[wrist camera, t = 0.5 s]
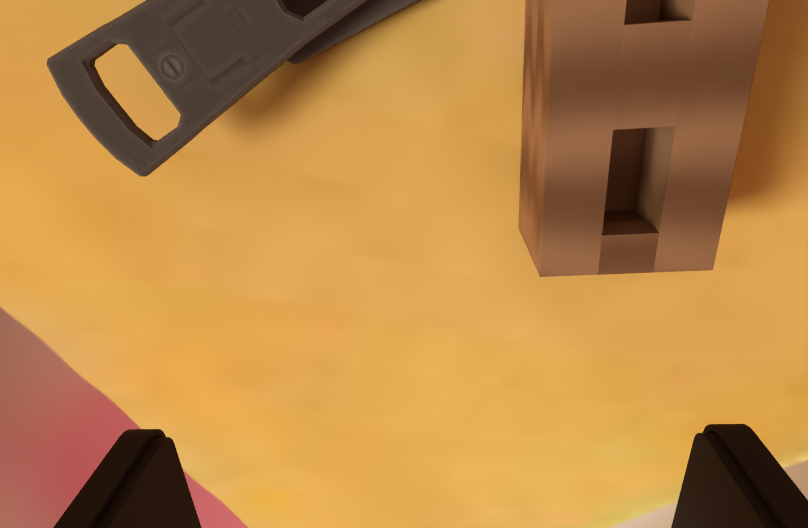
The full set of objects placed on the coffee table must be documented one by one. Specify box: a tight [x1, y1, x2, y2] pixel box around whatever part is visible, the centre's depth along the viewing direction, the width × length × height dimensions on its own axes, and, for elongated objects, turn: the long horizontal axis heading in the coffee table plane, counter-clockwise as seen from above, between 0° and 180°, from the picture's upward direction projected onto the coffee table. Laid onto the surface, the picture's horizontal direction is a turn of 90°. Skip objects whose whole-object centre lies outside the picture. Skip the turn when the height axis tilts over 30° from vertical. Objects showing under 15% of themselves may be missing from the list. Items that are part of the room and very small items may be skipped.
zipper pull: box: [47, 0, 421, 176], centre depth 30 cm, size 9×7×25 cm
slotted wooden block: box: [519, 0, 769, 277], centre depth 30 cm, size 22×10×8 cm, turn 4°
